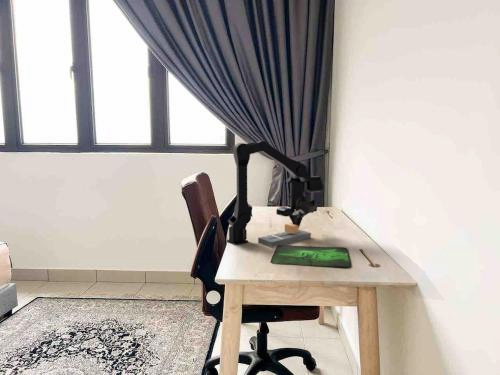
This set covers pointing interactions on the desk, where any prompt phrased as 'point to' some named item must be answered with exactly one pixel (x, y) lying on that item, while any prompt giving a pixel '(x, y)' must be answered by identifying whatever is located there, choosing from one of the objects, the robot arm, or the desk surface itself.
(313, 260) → the mouse mat
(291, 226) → the fader
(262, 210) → the desk surface
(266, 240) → the grey flat panel
